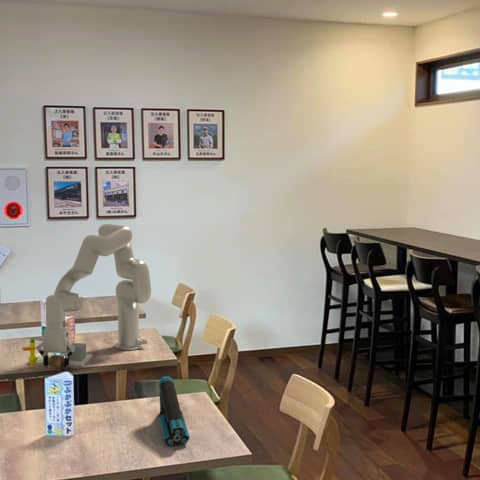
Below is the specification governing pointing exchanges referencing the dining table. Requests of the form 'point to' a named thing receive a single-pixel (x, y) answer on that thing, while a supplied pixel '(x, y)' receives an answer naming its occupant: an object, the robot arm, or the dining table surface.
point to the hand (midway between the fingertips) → (56, 366)
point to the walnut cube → (56, 362)
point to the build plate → (71, 363)
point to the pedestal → (78, 352)
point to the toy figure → (32, 350)
